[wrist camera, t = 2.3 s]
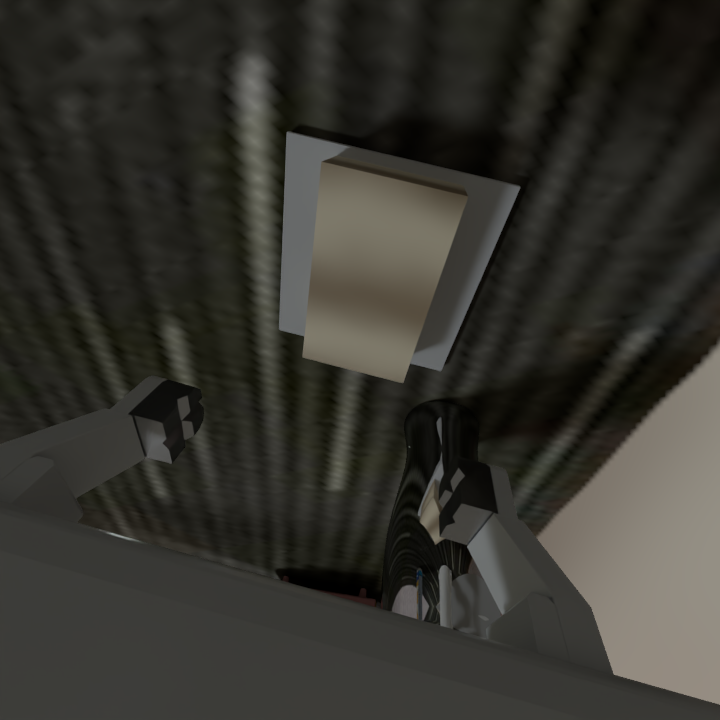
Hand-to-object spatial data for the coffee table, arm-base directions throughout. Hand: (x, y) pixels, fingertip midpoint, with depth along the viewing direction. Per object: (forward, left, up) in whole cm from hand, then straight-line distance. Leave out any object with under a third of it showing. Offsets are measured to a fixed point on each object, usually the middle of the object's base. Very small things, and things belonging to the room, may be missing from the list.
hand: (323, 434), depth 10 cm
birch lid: (-1, 0, -13) cm, 13 cm away
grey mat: (-1, 0, -13) cm, 13 cm away
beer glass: (+11, +8, -13) cm, 19 cm away
